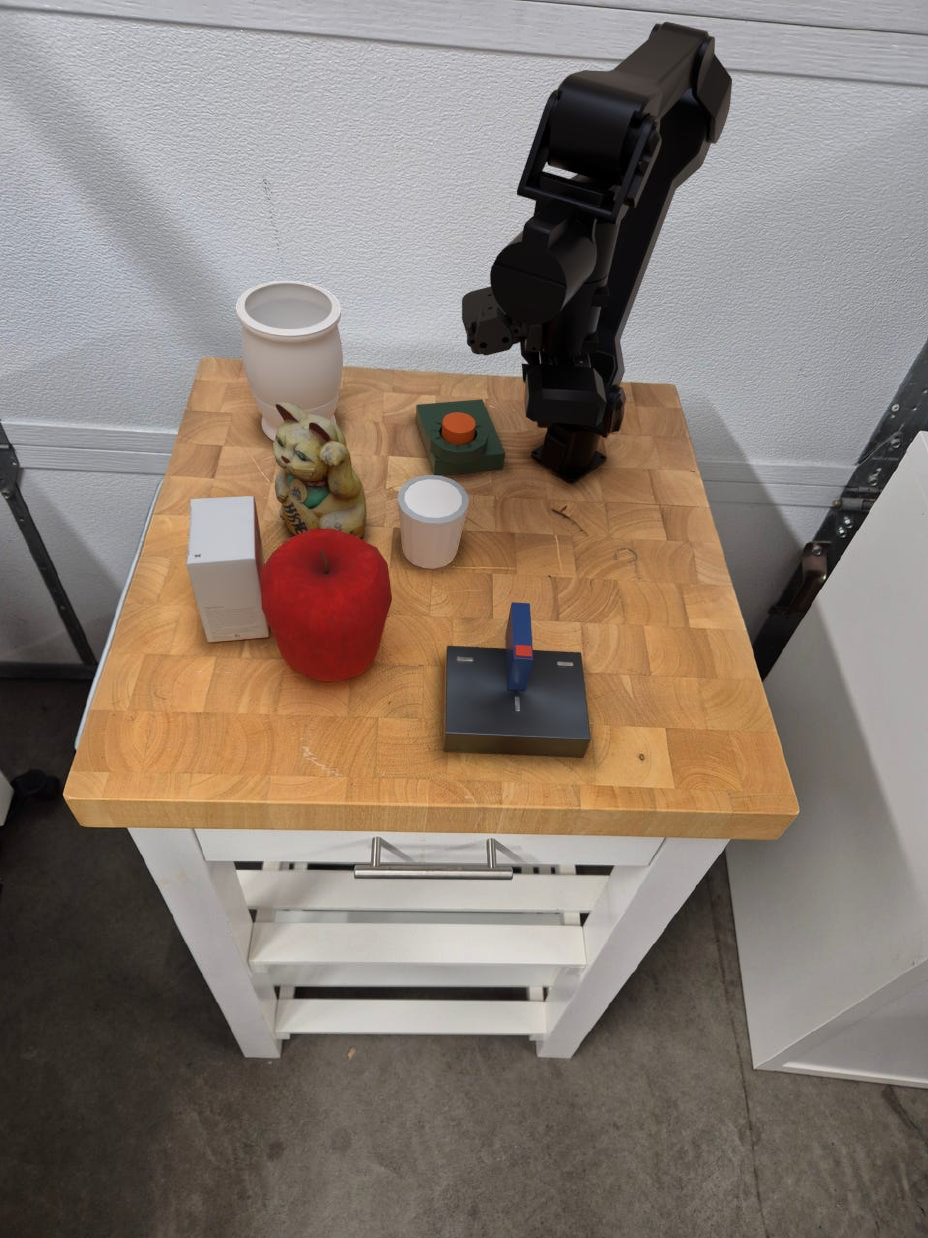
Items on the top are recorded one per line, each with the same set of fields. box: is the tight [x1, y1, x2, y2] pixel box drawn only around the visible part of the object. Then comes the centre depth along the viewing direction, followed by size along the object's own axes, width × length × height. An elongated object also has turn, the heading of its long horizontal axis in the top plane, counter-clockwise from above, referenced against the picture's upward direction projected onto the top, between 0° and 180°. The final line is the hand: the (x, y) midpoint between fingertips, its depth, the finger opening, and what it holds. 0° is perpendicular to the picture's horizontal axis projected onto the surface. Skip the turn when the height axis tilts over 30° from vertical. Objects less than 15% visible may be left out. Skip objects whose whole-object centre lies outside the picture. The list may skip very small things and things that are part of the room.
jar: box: [235, 280, 344, 442], centre depth 88 cm, size 11×10×15 cm
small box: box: [185, 495, 270, 643], centre depth 72 cm, size 8×6×10 cm
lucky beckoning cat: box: [272, 402, 367, 539], centre depth 78 cm, size 10×8×15 cm
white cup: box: [397, 474, 469, 570], centre depth 80 cm, size 7×7×7 cm
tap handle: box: [504, 601, 534, 690], centre depth 69 cm, size 6×2×5 cm, turn 0°
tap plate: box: [442, 645, 592, 758], centre depth 72 cm, size 12×13×3 cm
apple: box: [260, 528, 393, 682], centre depth 68 cm, size 10×10×14 cm
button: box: [442, 412, 476, 445], centre depth 89 cm, size 4×4×2 cm
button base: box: [415, 398, 506, 476], centre depth 92 cm, size 11×8×4 cm
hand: (542, 425), depth 76 cm, fingers closed
